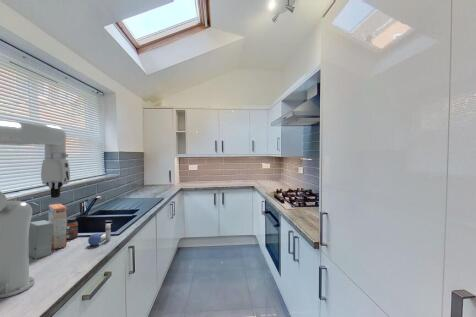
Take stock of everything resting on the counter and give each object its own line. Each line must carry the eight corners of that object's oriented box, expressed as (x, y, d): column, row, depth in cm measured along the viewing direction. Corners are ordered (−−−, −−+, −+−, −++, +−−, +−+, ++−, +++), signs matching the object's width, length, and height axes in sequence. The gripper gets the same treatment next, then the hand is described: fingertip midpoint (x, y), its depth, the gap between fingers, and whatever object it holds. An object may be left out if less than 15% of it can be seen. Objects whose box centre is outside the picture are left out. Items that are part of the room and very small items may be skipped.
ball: (104, 235, 131) (101, 246, 128) (93, 235, 131) (90, 246, 128) (99, 232, 126) (96, 244, 123) (87, 232, 126) (84, 244, 123)
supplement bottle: (69, 240, 133) (69, 220, 133) (62, 238, 136) (62, 219, 136) (80, 237, 139) (80, 218, 139) (73, 235, 141) (73, 216, 141)
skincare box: (26, 255, 113) (26, 222, 113) (44, 250, 120) (44, 219, 119) (35, 259, 109) (35, 225, 109) (53, 254, 116) (53, 221, 115)
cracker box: (67, 246, 125) (67, 206, 124) (52, 250, 120) (52, 208, 120) (61, 240, 134) (61, 202, 134) (47, 242, 130) (47, 204, 130)
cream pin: (101, 237, 132) (109, 231, 141) (96, 237, 132) (104, 232, 141) (101, 241, 132) (109, 236, 141) (97, 242, 132) (105, 236, 141)
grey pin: (109, 241, 133) (109, 225, 133) (104, 241, 133) (104, 225, 133) (111, 239, 136) (111, 223, 136) (106, 239, 136) (106, 223, 135)
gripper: (77, 156, 111) (77, 195, 112) (44, 156, 111) (44, 195, 111) (66, 156, 104) (66, 198, 104) (31, 156, 103) (31, 198, 103)
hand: (55, 197), depth 108 cm, fingers closed
